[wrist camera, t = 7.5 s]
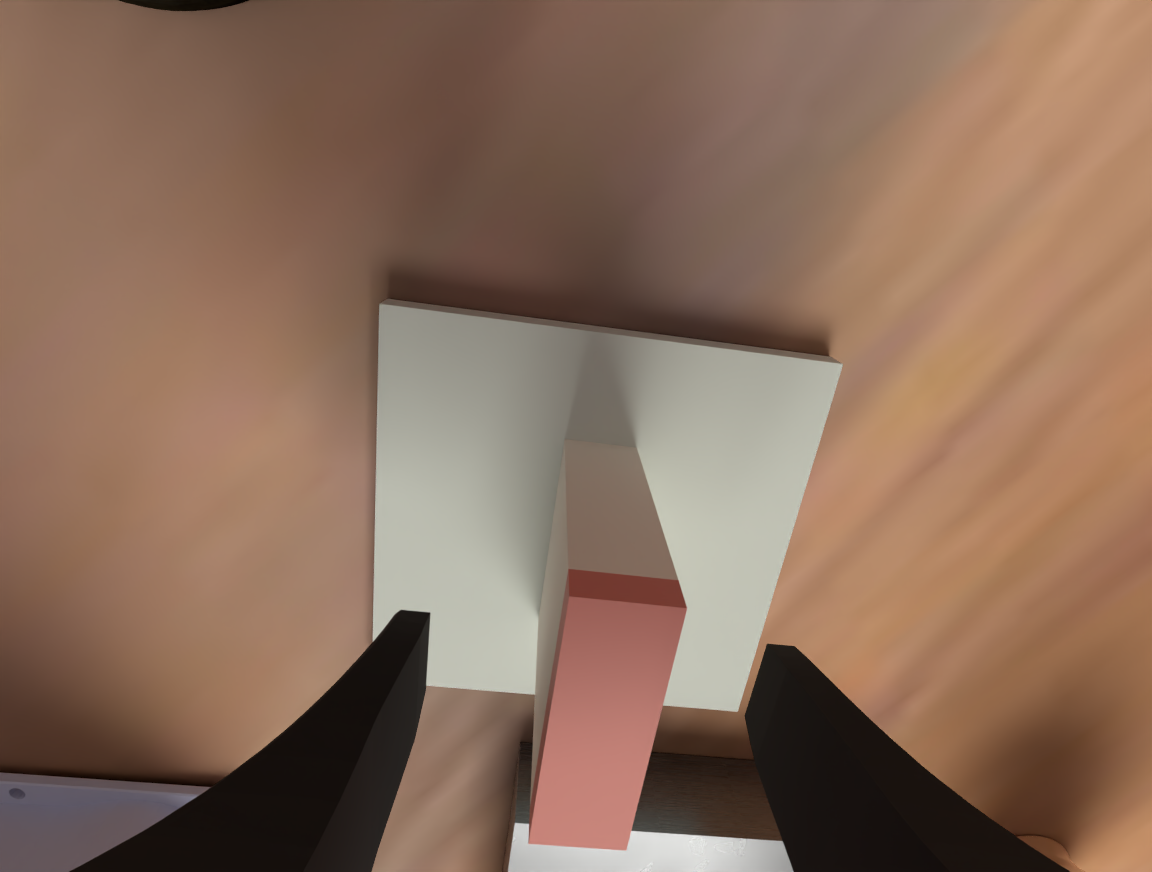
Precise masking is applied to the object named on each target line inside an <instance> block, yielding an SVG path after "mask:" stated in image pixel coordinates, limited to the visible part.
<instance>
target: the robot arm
mask: <svg viewBox="0 0 1152 872" xmlns="http://www.w3.org/2000/svg"><path fill="white" fill-rule="evenodd" d="M429 629H430V612H420V611H409V610H400V611H398V612H397V613H396V614H395V615H394V616H393V617H392V619H391V620H390V621H389V623H388V624H387V625H386V626H385V628H384V629H383V630H382V631H381V633H380V634H379V635H378V636H377V638H376V639H375V640H374V641H373V642H372V644H371V645H370V646H369V647H368V648H367V649H366V651H365V652H364V653H363V654H362V655H361V656H360V657H359V658H358V659H357V661H356V662H355V663H354V664H353V665H352V666H351V667H350V668H349V669H348V670H347V671H346V672H345V674H344V675H343V676H342V677H341V678H340V679H339V680H338V681H337V682H336V683H335V684H334V685H333V686H332V687H331V688H330V689H329V690H328V691H327V692H326V693H325V694H324V695H323V696H322V697H321V698H320V699H319V700H318V701H317V702H316V703H314V704H313V705H312V706H311V707H310V708H309V709H308V710H307V711H306V712H305V713H304V714H303V715H302V716H301V717H300V718H298V719H297V720H296V721H295V722H294V723H293V724H292V725H291V726H289V727H288V728H287V729H286V730H285V731H284V732H283V733H281V734H280V735H279V736H278V737H276V738H275V739H274V740H273V741H272V742H270V743H269V744H268V745H267V746H266V747H264V748H263V749H262V750H261V751H259V752H258V753H257V754H255V755H254V756H253V757H251V758H250V759H249V760H247V761H246V762H245V763H244V764H242V765H241V766H240V767H238V768H237V769H236V770H234V771H233V772H232V773H230V774H229V775H228V776H226V777H225V778H223V779H222V780H221V781H219V782H218V783H216V784H215V785H214V786H212V787H202V786H188V785H173V784H159V783H145V782H130V781H116V780H102V779H87V778H73V777H58V776H44V775H30V774H15V773H1V772H0V872H371V871H372V868H373V864H374V861H375V857H376V854H377V851H378V848H379V845H380V842H381V839H382V836H383V833H384V830H385V827H386V824H387V821H388V818H389V815H390V812H391V809H392V806H393V803H394V800H395V797H396V794H397V791H398V788H399V785H400V782H401V779H402V776H403V773H404V770H405V767H406V764H407V761H408V758H409V755H410V752H411V749H412V746H413V743H414V740H415V736H416V732H417V727H418V723H419V719H420V714H421V709H422V705H423V700H424V696H425V691H426V678H427V662H428V645H429ZM745 720H746V724H747V729H748V734H749V739H750V744H751V748H752V752H753V756H754V760H755V764H756V767H757V770H758V773H759V776H760V779H761V782H762V785H763V788H764V791H765V793H766V796H767V799H768V802H769V805H770V807H771V810H772V813H773V816H774V819H775V821H776V824H777V827H778V830H779V832H780V835H781V838H782V841H783V844H784V846H785V849H786V852H787V855H788V857H789V860H790V863H791V866H792V869H793V871H794V872H1070V871H1069V870H1067V869H1065V868H1064V867H1062V866H1060V865H1059V864H1057V863H1056V862H1054V861H1053V860H1051V859H1049V858H1048V857H1046V856H1045V855H1043V854H1042V853H1040V852H1039V851H1037V850H1035V849H1034V848H1032V847H1031V846H1029V845H1028V844H1026V843H1025V842H1024V841H1022V840H1021V839H1019V838H1018V837H1016V836H1015V835H1013V834H1012V833H1010V832H1009V831H1008V830H1006V829H1005V828H1003V827H1002V826H1000V825H999V824H997V823H996V822H994V821H993V820H992V819H990V818H989V817H987V816H986V815H985V814H983V813H982V812H981V811H979V810H978V809H976V808H975V807H974V806H972V805H971V804H970V803H968V802H967V801H966V800H964V799H963V798H962V797H961V796H959V795H958V794H957V793H955V792H954V791H953V790H952V789H950V788H949V787H948V786H946V785H945V784H944V783H943V782H941V781H940V780H939V779H937V778H936V777H935V776H934V775H933V774H931V773H930V772H929V771H928V770H927V769H925V768H924V767H923V766H922V765H921V764H919V763H918V762H917V761H916V760H915V759H914V758H912V757H911V756H910V755H909V754H908V753H907V752H906V751H904V750H903V749H902V748H901V747H900V746H899V745H898V744H896V743H895V742H894V741H893V740H892V739H891V738H890V737H889V736H888V735H886V734H885V733H884V732H883V731H882V730H881V729H880V728H879V727H878V726H877V725H876V724H875V723H873V722H872V721H871V720H870V719H869V718H868V717H867V716H866V715H865V714H864V713H863V712H862V711H861V710H860V709H859V708H858V707H857V706H856V705H855V704H854V703H853V702H852V701H850V700H849V699H848V698H847V697H846V696H845V695H844V694H843V693H842V692H841V691H840V690H839V689H838V688H837V687H836V686H835V685H834V684H833V683H832V682H831V681H830V680H829V679H828V678H827V677H826V676H825V675H824V674H823V673H822V672H821V671H820V670H819V669H818V668H817V667H816V666H815V665H814V664H813V663H812V662H811V661H810V660H809V659H808V658H807V657H806V656H805V655H804V654H802V653H801V652H800V651H799V650H798V649H797V648H796V647H795V646H786V645H775V644H767V646H766V649H765V652H764V656H763V659H762V662H761V665H760V669H759V672H758V675H757V678H756V681H755V685H754V688H753V691H752V694H751V698H750V701H749V704H748V707H747V710H746V714H745Z"/></svg>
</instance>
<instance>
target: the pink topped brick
mask: <svg viewBox="0 0 1152 872" xmlns="http://www.w3.org/2000/svg"><path fill="white" fill-rule="evenodd" d="M686 611H687V606H686V603H685V600H684V596H683V593H682V590H681V587H680V584H679V580H678V577H677V574H676V571H675V568H674V564H673V561H672V558H671V555H670V552H669V549H668V545H667V542H666V539H665V536H664V533H663V529H662V526H661V523H660V520H659V517H658V513H657V510H656V507H655V504H654V501H653V498H652V494H651V491H650V488H649V485H648V482H647V478H646V475H645V472H644V469H643V466H642V462H641V459H640V456H639V453H638V450H637V448H636V447H627V446H619V445H611V444H603V443H594V442H586V441H578V440H570V439H564V446H563V453H562V460H561V467H560V474H559V480H558V487H557V494H556V501H555V508H554V515H553V522H552V529H551V535H550V542H549V549H548V556H547V563H546V570H545V577H544V583H543V590H542V597H541V604H540V611H539V618H538V638H537V660H536V683H535V705H534V728H533V750H532V773H531V795H530V818H529V840H528V844H537V845H552V846H566V847H581V848H595V849H610V850H624V851H626V850H627V846H628V842H629V838H630V834H631V830H632V826H633V822H634V818H635V814H636V810H637V806H638V802H639V798H640V794H641V790H642V786H643V782H644V778H645V774H646V770H647V766H648V762H649V758H650V755H651V751H652V747H653V743H654V739H655V735H656V731H657V727H658V723H659V719H660V715H661V711H662V707H663V703H664V699H665V695H666V691H667V687H668V683H669V679H670V675H671V671H672V667H673V663H674V659H675V655H676V651H677V647H678V643H679V639H680V635H681V631H682V627H683V623H684V619H685V615H686Z"/></svg>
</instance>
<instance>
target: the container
mask: <svg viewBox="0 0 1152 872" xmlns="http://www.w3.org/2000/svg"><path fill="white" fill-rule="evenodd" d="M119 1H122V2H126V3H130V4H134V5H138V6H143V7H148V8H154V9H161V10H170V11H197V10H210V9H217V8H223V7H228V6H232V5H236V4H239V3H243V2H245V1H248V0H119Z"/></svg>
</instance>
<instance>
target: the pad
mask: <svg viewBox="0 0 1152 872" xmlns="http://www.w3.org/2000/svg"><path fill="white" fill-rule="evenodd" d="M842 366H843V364H842V363H840V362H839V361H837V360H835V359H834V358H832V357H830V356H822V355H815V354H807V353H799V352H792V351H784V350H776V349H769V348H761V347H753V346H746V345H738V344H730V343H723V342H715V341H708V340H700V339H692V338H685V337H677V336H669V335H662V334H654V333H646V332H639V331H631V330H624V329H616V328H608V327H601V326H593V325H585V324H578V323H570V322H562V321H555V320H547V319H539V318H532V317H524V316H517V315H509V314H501V313H494V312H486V311H478V310H471V309H463V308H455V307H448V306H440V305H432V304H425V303H417V302H410V301H402V300H394V299H386V300H385V301H383V302H381V303H380V304H379V344H378V395H377V447H376V498H375V549H374V600H373V641H374V640H375V639H376V638H377V636H378V635H379V634H380V633H381V631H382V630H383V629H384V628H385V626H386V625H387V624H388V623H389V621H390V620H391V619H392V617H393V616H394V615H395V614H396V613H397V612H398V611H400V610H409V611H420V612H430V629H429V645H428V662H427V678H426V686H438V687H450V688H462V689H474V690H486V691H497V692H509V693H521V694H533V695H535V683H536V660H537V638H538V618H539V611H540V604H541V597H542V590H543V583H544V577H545V570H546V563H547V556H548V549H549V542H550V535H551V529H552V522H553V515H554V508H555V501H556V494H557V487H558V480H559V474H560V467H561V460H562V453H563V446H564V439H570V440H578V441H586V442H594V443H603V444H611V445H619V446H627V447H636V448H637V450H638V453H639V456H640V459H641V462H642V466H643V469H644V472H645V475H646V478H647V482H648V485H649V488H650V491H651V494H652V498H653V501H654V504H655V507H656V510H657V513H658V517H659V520H660V523H661V526H662V529H663V533H664V536H665V539H666V542H667V545H668V549H669V552H670V555H671V558H672V561H673V564H674V568H675V571H676V574H677V577H678V580H679V584H680V587H681V590H682V593H683V596H684V600H685V603H686V606H687V611H686V615H685V619H684V623H683V627H682V631H681V635H680V639H679V643H678V647H677V651H676V655H675V659H674V663H673V667H672V671H671V675H670V679H669V683H668V687H667V691H666V695H665V699H664V703H663V705H664V706H676V707H688V708H700V709H712V710H724V711H736V712H738V709H739V706H740V702H741V699H742V696H743V692H744V689H745V686H746V683H747V679H748V676H749V673H750V669H751V666H752V663H753V659H754V656H755V653H756V650H757V646H758V643H759V640H760V636H761V633H762V630H763V627H764V623H765V620H766V617H767V613H768V610H769V607H770V603H771V600H772V597H773V594H774V590H775V587H776V584H777V580H778V577H779V574H780V571H781V567H782V564H783V561H784V557H785V554H786V551H787V547H788V544H789V541H790V538H791V534H792V531H793V528H794V524H795V521H796V518H797V514H798V511H799V508H800V505H801V501H802V498H803V495H804V491H805V488H806V485H807V482H808V478H809V475H810V472H811V468H812V465H813V462H814V458H815V455H816V452H817V449H818V445H819V442H820V439H821V435H822V432H823V429H824V425H825V422H826V419H827V416H828V412H829V409H830V406H831V402H832V399H833V396H834V393H835V389H836V386H837V383H838V379H839V376H840V373H841V369H842Z"/></svg>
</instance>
